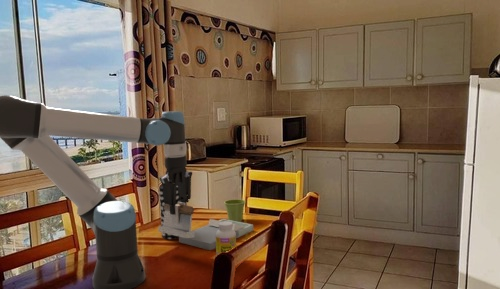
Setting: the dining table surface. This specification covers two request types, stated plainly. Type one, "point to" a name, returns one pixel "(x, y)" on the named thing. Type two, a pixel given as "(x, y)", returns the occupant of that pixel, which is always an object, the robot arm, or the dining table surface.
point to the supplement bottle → (225, 237)
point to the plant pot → (235, 209)
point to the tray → (241, 231)
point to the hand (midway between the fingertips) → (179, 221)
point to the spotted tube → (164, 235)
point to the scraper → (184, 222)
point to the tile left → (214, 222)
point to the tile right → (237, 227)
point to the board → (203, 237)
